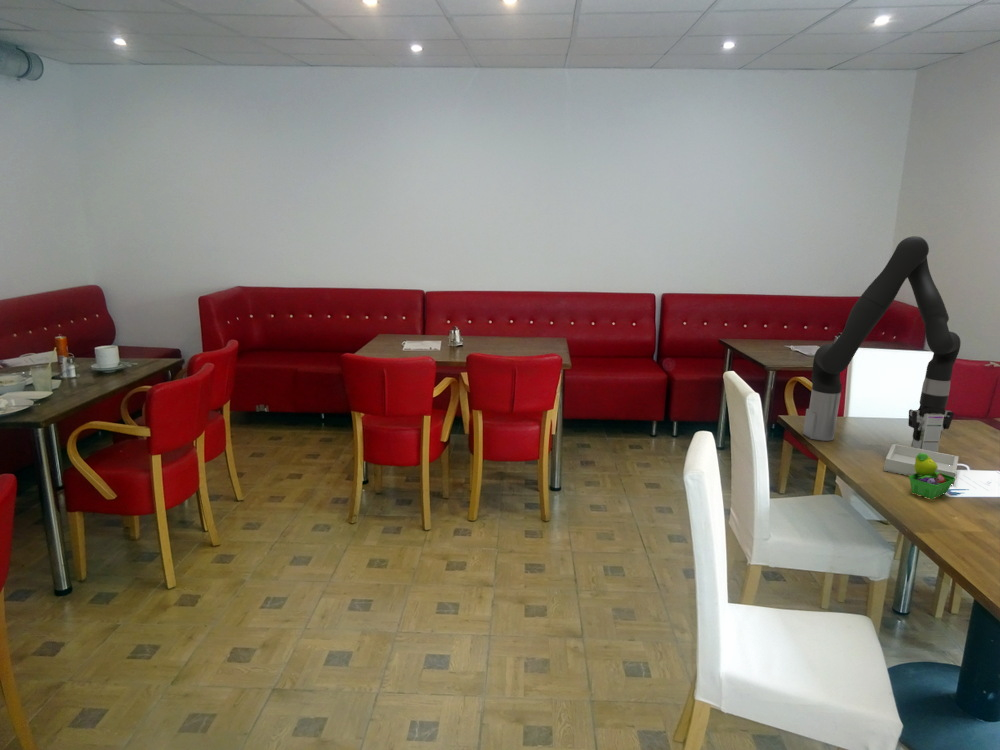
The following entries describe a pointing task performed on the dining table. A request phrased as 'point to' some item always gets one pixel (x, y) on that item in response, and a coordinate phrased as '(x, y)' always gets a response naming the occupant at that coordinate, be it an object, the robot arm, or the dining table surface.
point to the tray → (904, 460)
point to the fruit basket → (928, 478)
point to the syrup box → (929, 432)
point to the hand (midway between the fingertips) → (926, 440)
